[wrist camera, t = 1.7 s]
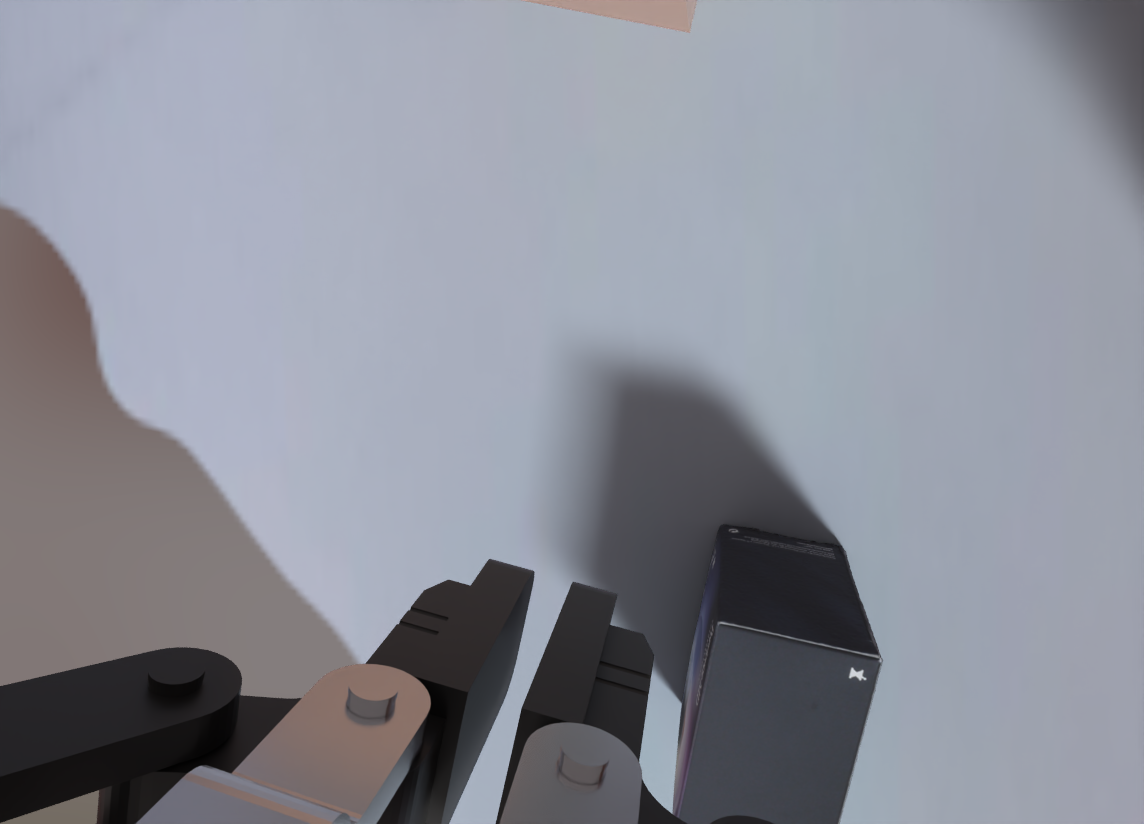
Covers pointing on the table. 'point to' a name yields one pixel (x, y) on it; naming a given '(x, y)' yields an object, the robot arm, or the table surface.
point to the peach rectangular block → (635, 10)
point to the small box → (774, 684)
